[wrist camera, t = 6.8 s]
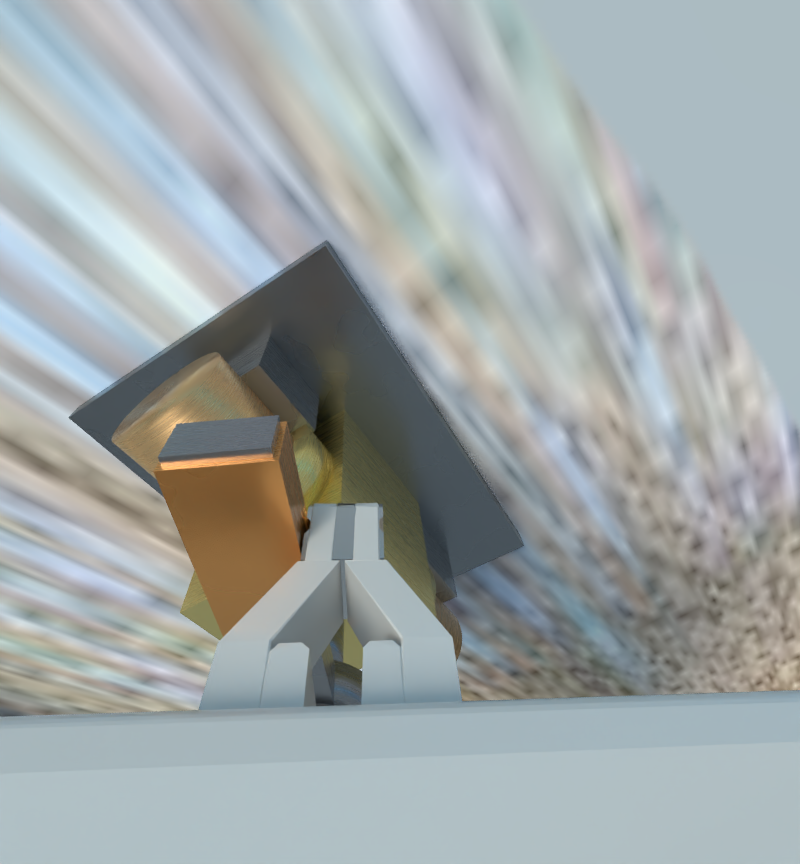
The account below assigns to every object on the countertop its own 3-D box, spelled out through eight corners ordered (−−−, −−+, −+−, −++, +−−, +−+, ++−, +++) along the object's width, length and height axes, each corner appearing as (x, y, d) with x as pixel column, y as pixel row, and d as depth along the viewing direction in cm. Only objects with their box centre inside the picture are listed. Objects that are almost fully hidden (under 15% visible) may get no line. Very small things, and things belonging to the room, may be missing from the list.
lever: (378, 719, 15) (380, 770, 14) (261, 731, 15) (253, 784, 14) (329, 405, 9) (326, 450, 8) (129, 421, 9) (94, 469, 8)
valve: (328, 621, 28) (317, 825, 20) (78, 407, 19) (-117, 614, 11) (519, 534, 25) (594, 730, 17) (326, 240, 17) (299, 359, 9)
